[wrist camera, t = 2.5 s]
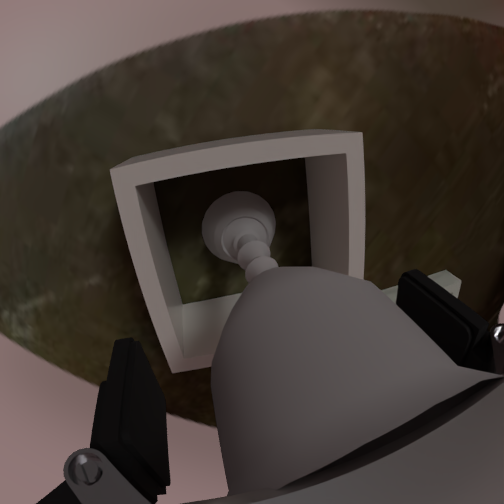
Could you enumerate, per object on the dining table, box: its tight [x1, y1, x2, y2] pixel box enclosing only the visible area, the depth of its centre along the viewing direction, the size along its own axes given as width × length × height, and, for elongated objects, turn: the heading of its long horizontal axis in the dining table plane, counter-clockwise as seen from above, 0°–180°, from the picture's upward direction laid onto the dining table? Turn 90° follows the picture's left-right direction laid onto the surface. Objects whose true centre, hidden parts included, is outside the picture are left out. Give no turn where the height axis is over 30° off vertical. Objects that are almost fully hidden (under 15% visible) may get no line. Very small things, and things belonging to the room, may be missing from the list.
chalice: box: [202, 191, 504, 496], centre depth 13 cm, size 7×7×18 cm
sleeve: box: [110, 129, 365, 373], centre depth 18 cm, size 12×12×6 cm
